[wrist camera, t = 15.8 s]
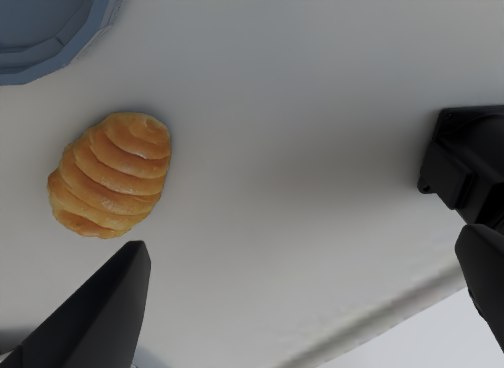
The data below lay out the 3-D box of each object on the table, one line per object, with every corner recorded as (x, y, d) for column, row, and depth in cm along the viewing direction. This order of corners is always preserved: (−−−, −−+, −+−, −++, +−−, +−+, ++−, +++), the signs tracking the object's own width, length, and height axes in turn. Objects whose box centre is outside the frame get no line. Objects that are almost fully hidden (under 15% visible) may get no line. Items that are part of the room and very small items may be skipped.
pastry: (104, 79, 19) (78, 103, 16) (200, 140, 22) (194, 171, 19) (50, 182, 23) (22, 217, 20) (137, 223, 26) (123, 260, 23)
